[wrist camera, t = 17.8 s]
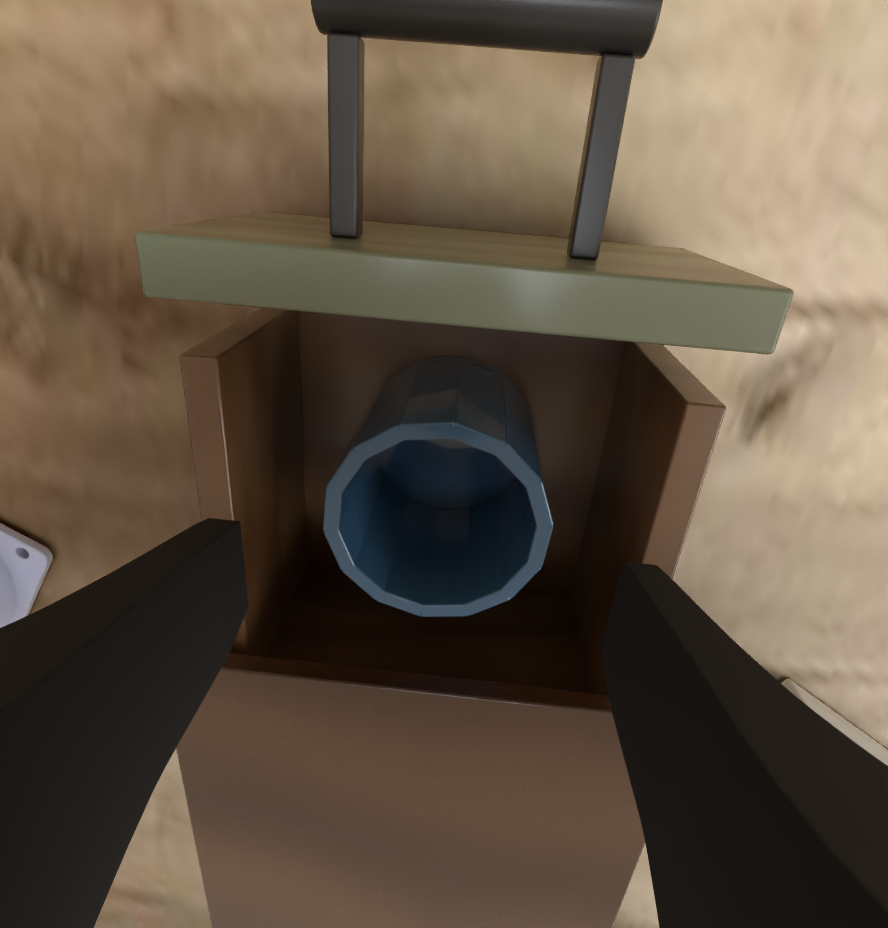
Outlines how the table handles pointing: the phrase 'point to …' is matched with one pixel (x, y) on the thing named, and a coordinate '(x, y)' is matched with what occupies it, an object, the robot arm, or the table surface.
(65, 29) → the table surface
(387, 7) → the drawer
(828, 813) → the robot arm
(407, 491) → the cup
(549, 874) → the cabinet
